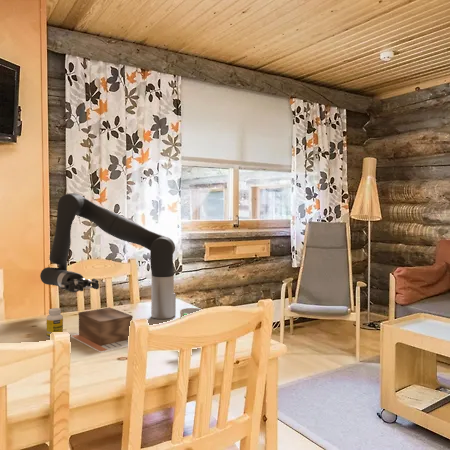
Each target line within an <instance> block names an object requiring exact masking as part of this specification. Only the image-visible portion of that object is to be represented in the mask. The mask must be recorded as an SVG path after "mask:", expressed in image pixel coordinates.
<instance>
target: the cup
mask: <svg viewBox="0 0 450 450" xmlns="http://www.w3.org/2000/svg"><path fill="white" fill-rule="evenodd" d="M201 309H202V308H199V307H187V308H182V309H180V310H179V313H180V314H179V317H180V318H181V317H182V316H183V314H184V313H186V314H190V313H193V312H196V311H199V310H201Z"/></svg>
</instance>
